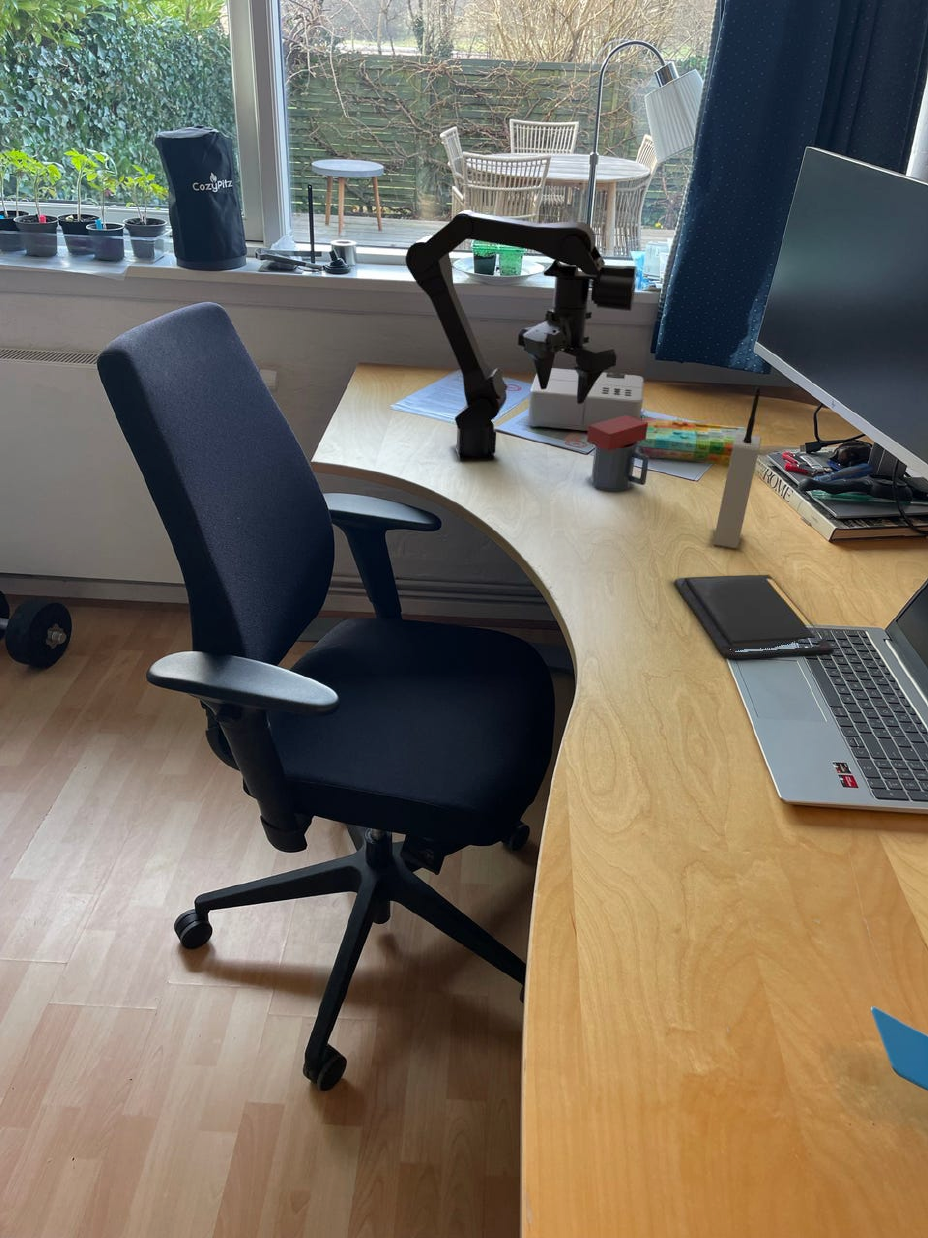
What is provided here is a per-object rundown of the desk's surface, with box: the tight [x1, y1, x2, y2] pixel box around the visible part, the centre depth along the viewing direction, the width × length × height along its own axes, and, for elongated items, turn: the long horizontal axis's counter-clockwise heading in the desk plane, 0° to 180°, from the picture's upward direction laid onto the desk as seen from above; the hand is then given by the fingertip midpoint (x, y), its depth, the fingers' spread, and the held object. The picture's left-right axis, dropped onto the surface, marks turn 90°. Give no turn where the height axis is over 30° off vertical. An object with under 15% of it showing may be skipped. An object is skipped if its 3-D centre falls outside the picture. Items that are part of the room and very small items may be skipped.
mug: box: [590, 442, 650, 493], centre depth 160 cm, size 10×7×8 cm
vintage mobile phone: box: [712, 386, 762, 550], centre depth 139 cm, size 4×5×25 cm
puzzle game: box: [640, 416, 747, 465], centre depth 175 cm, size 12×5×20 cm
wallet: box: [673, 574, 834, 660], centre depth 126 cm, size 20×2×15 cm
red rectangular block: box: [586, 415, 648, 451], centre depth 158 cm, size 10×5×3 cm, turn 129°
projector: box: [527, 367, 645, 432], centre depth 188 cm, size 17×22×8 cm
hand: (561, 395), depth 162 cm, fingers open, 9 cm apart
